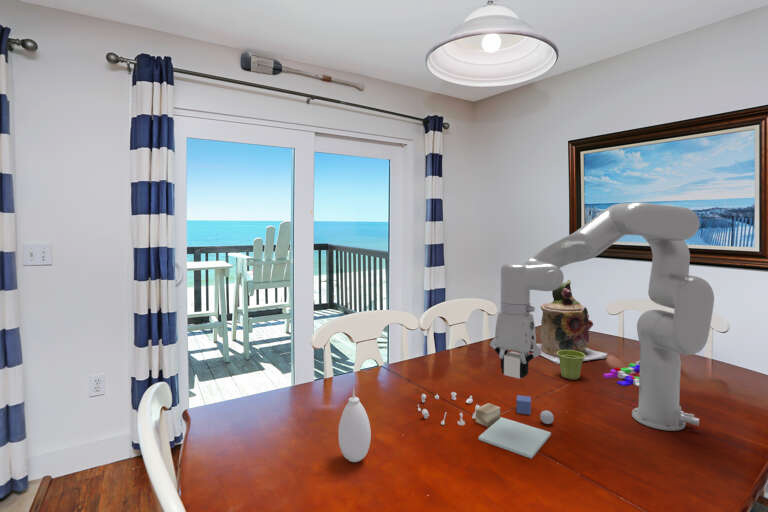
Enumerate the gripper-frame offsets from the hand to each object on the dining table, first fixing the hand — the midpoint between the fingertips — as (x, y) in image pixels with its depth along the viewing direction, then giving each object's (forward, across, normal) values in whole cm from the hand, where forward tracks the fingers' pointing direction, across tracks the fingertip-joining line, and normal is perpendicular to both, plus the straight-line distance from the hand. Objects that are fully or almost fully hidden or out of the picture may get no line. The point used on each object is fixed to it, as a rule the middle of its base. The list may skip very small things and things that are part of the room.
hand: (514, 373), depth 112 cm
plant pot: (+16, 0, -49) cm, 52 cm away
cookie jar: (+16, +11, -76) cm, 78 cm away
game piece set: (+16, +20, +2) cm, 26 cm away
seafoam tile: (+16, -2, +5) cm, 16 cm away
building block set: (+16, -20, -64) cm, 69 cm away
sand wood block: (+16, +7, +1) cm, 17 cm away
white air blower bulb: (+16, +22, +39) cm, 48 cm away
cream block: (0, 0, -1) cm, 1 cm away
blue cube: (+16, +2, -12) cm, 20 cm away
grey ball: (+14, -6, -9) cm, 17 cm away
